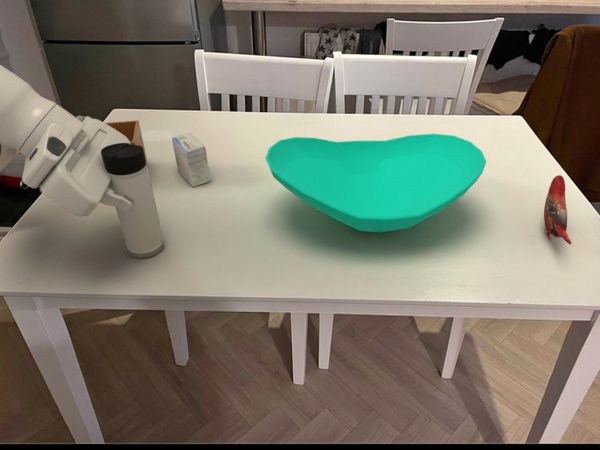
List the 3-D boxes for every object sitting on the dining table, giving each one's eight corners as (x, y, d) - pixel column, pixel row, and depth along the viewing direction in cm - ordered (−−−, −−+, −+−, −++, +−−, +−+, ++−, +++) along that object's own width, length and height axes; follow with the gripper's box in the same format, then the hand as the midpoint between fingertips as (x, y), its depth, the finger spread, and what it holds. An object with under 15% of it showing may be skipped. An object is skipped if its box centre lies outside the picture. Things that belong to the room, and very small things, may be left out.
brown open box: (88, 192, 96) (73, 147, 90) (95, 167, 105) (82, 124, 98) (145, 187, 98) (134, 142, 92) (147, 163, 107) (138, 120, 100)
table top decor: (269, 264, 79) (266, 200, 71) (266, 179, 101) (264, 123, 93) (494, 255, 82) (516, 192, 74) (444, 174, 104) (456, 118, 96)
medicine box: (211, 182, 100) (206, 146, 95) (191, 188, 98) (186, 151, 93) (195, 166, 105) (190, 131, 100) (177, 172, 103) (171, 136, 98)
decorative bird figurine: (548, 214, 92) (566, 170, 86) (566, 273, 78) (589, 226, 72) (533, 212, 92) (549, 168, 86) (548, 270, 79) (569, 223, 72)
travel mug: (119, 255, 81) (89, 153, 69) (141, 233, 86) (117, 134, 74) (149, 263, 79) (124, 160, 67) (171, 240, 84) (150, 141, 72)
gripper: (70, 124, 79) (140, 173, 85) (17, 189, 63) (108, 243, 69) (90, 99, 76) (160, 151, 83) (40, 159, 60) (132, 219, 66)
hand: (136, 193), depth 76 cm, fingers closed on travel mug, 6 cm apart
